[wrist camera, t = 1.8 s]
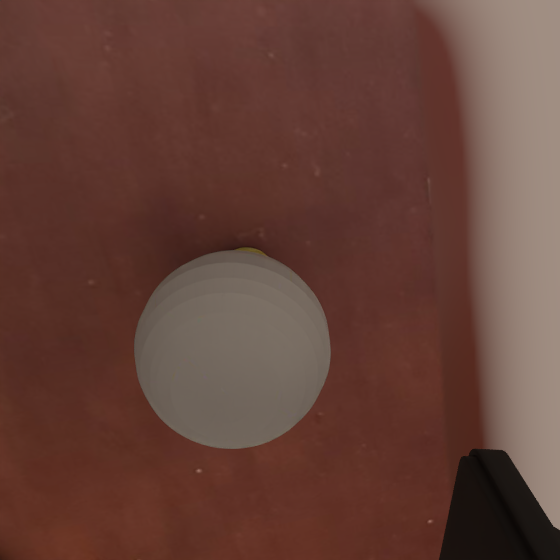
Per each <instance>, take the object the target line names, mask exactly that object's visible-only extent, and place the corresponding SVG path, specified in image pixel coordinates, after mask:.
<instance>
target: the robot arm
mask: <svg viewBox="0 0 560 560" xmlns="http://www.w3.org/2000/svg"><path fill="white" fill-rule="evenodd" d="M439 560H560V530H558V529H557V528H555V527H553V525H552V524H551V522H550V520H549V519H548V517H547V516H546V514H545V513H544V511H543V509H542V508H541V506H540V505H539V503H538V501H537V500H536V498H535V497H534V495H533V494H532V492H531V490H530V489H529V487H528V486H527V484H526V483H525V481H524V479H523V478H522V476H521V475H520V473H519V471H518V470H517V468H516V467H515V465H514V464H513V462H512V460H511V459H510V457H509V456H508V455H507V453H506V452H505V451H503V450H490V449H472V450H471V451H470V453H469V456H463V457H461V459H460V462H459V466H458V471H457V476H456V481H455V486H454V490H453V495H452V500H451V505H450V510H449V515H448V520H447V524H446V529H445V534H444V539H443V544H442V549H441V553H440V558H439Z"/></svg>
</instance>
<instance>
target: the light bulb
mask: <svg viewBox="0 0 560 560" xmlns="http://www.w3.org/2000/svg"><path fill="white" fill-rule="evenodd" d="M134 354H135V363H136V370H137V375H138V379H139V382H140V385H141V388H142V390H143V392H144V394H145V396H146V398H147V400H148V401H149V403H150V405H151V407H152V408H153V410H154V411H155V412H156V414H157V415H158V416H159V417H160V418H161V419H162V421H164V422H165V423H166V424H167V425H168V426H169V427H170V428H172V429H173V430H174V431H176V432H177V433H179V434H180V435H182V436H184V437H186V438H188V439H190V440H192V441H194V442H197V443H200V444H203V445H207V446H211V447H217V448H227V449H237V448H247V447H253V446H257V445H260V444H263V443H266V442H269V441H271V440H273V439H275V438H277V437H279V436H281V435H282V434H284V433H285V432H287V431H288V430H289V429H291V428H292V427H293V426H294V425H295V424H296V423H298V422H299V421H300V420H301V419H302V418H303V417H304V416H305V415H306V413H307V412H308V411H309V410H310V409H311V407H312V406H313V404H314V402H315V401H316V399H317V397H318V395H319V393H320V391H321V389H322V387H323V385H324V382H325V380H326V377H327V374H328V370H329V365H330V354H331V350H330V339H329V332H328V326H327V321H326V317H325V314H324V312H323V309H322V307H321V305H320V303H319V301H318V299H317V297H316V296H315V295H314V293H313V292H312V290H311V289H310V288H309V287H308V286H307V284H306V283H305V282H304V281H303V280H302V279H301V278H300V277H299V276H298V275H297V274H296V273H295V272H293V271H292V270H291V269H290V268H288V267H287V266H285V265H284V264H282V263H281V262H279V261H277V260H275V259H273V258H270V257H268V256H267V255H266V254H264V253H263V252H262V251H259V250H257V249H254V248H249V247H243V248H238V249H236V250H228V251H219V252H214V253H210V254H207V255H203V256H201V257H199V258H196V259H194V260H192V261H190V262H188V263H186V264H184V265H182V266H181V267H179V268H178V269H176V270H175V271H173V272H172V273H171V274H170V275H168V276H167V277H166V278H165V279H164V280H163V281H162V282H161V283H160V284H159V286H158V287H157V288H156V289H155V291H154V292H153V294H152V295H151V297H150V299H149V301H148V303H147V305H146V307H145V308H144V311H143V313H142V315H141V317H140V319H139V322H138V325H137V329H136V333H135V341H134Z"/></svg>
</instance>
